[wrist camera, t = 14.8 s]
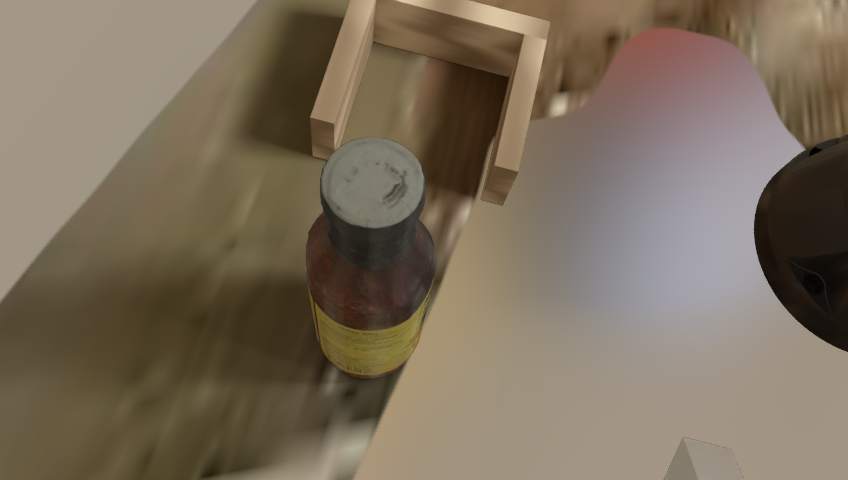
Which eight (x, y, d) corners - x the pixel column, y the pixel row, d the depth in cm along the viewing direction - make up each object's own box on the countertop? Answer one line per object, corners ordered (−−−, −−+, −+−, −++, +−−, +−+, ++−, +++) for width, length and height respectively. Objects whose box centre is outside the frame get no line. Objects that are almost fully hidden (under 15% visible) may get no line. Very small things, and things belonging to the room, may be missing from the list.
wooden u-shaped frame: (533, 65, 56) (550, 21, 51) (502, 205, 52) (518, 171, 47) (358, 19, 56) (360, -29, 51) (312, 156, 52) (310, 117, 47)
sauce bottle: (435, 356, 47) (493, 233, 29) (340, 400, 46) (338, 298, 27) (390, 264, 49) (418, 93, 31) (297, 302, 48) (269, 147, 29)
